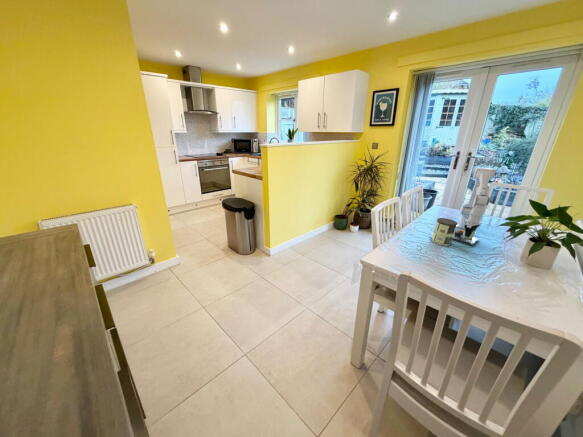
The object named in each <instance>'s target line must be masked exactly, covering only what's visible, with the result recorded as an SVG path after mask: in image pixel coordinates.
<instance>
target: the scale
mask: <svg viewBox="0 0 583 437" xmlns="http://www.w3.org/2000/svg"><path fill="white" fill-rule="evenodd" d="M458 230H459V229H455V231H454V234H453V237H452V240H451V241H454V242H458V243H461V244H464V245H467V246H469V247H473V246H474V245H475V244H476V243H478V241H479V238H476V237H474V238H475V240H474V241H470V240H466V239H463V238H461V235H463V233H464V231H463V232H462V233H459V232H458Z"/></svg>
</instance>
